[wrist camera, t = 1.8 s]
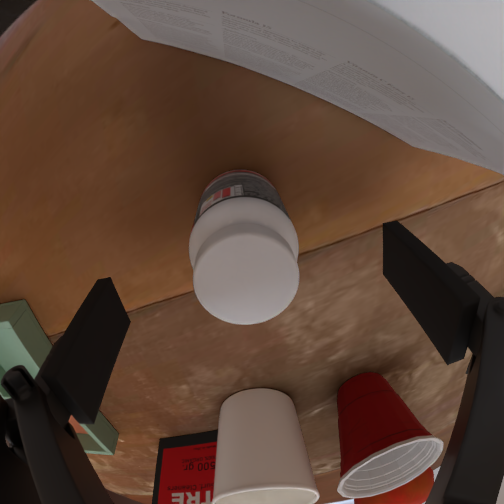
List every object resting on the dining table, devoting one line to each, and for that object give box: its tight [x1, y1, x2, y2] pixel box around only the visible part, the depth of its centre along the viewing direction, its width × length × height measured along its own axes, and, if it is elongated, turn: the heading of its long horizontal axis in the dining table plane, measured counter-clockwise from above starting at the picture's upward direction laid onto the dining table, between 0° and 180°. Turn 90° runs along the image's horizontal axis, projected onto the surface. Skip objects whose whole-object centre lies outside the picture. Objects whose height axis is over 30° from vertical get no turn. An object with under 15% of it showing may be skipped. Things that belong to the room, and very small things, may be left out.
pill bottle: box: [189, 170, 299, 325], centre depth 18 cm, size 6×6×10 cm
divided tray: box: [0, 299, 119, 455], centre depth 29 cm, size 22×12×4 cm, turn 11°
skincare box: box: [91, 0, 504, 175], centre depth 11 cm, size 21×5×16 cm, turn 69°
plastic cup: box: [337, 372, 443, 498], centre depth 27 cm, size 11×11×12 cm
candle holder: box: [212, 388, 320, 504], centre depth 28 cm, size 10×10×12 cm
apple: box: [354, 467, 434, 504], centre depth 34 cm, size 12×12×14 cm
